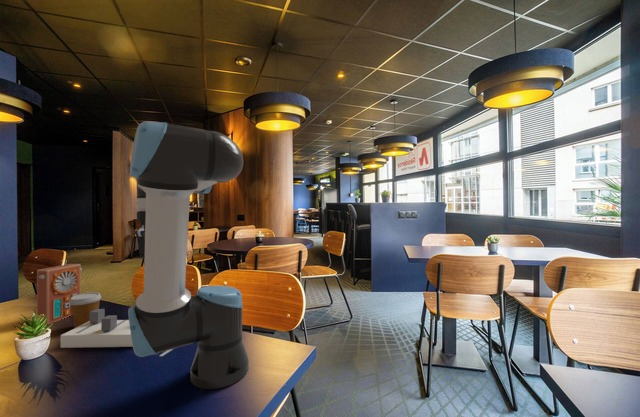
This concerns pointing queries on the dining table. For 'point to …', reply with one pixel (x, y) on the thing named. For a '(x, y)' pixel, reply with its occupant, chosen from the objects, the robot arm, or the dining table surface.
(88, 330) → the switch bank
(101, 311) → the tab
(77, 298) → the disposable coffee cup
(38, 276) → the control panel
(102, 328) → the tab
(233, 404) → the dining table surface
